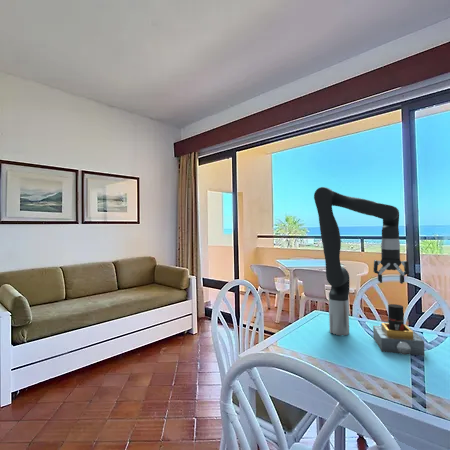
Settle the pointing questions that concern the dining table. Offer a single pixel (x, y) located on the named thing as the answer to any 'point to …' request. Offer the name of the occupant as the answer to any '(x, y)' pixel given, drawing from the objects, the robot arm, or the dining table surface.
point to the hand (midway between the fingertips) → (391, 282)
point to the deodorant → (396, 317)
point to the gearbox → (398, 340)
